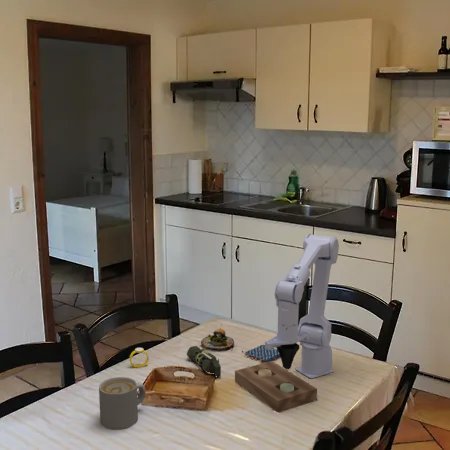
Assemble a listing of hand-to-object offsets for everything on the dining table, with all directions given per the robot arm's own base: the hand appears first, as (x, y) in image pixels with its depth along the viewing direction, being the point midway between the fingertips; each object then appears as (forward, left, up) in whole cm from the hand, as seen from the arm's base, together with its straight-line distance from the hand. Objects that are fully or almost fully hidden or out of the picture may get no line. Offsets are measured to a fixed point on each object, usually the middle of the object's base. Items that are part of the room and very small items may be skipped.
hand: (286, 367), depth 164 cm
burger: (-3, -43, -10) cm, 45 cm away
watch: (+28, -41, -10) cm, 51 cm away
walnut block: (0, -5, -9) cm, 11 cm away
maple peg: (0, -10, -9) cm, 14 cm away
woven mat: (-12, -27, -10) cm, 32 cm away
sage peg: (0, +1, -9) cm, 9 cm away
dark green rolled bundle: (+10, -30, -10) cm, 33 cm away
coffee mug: (+44, -13, -10) cm, 47 cm away
